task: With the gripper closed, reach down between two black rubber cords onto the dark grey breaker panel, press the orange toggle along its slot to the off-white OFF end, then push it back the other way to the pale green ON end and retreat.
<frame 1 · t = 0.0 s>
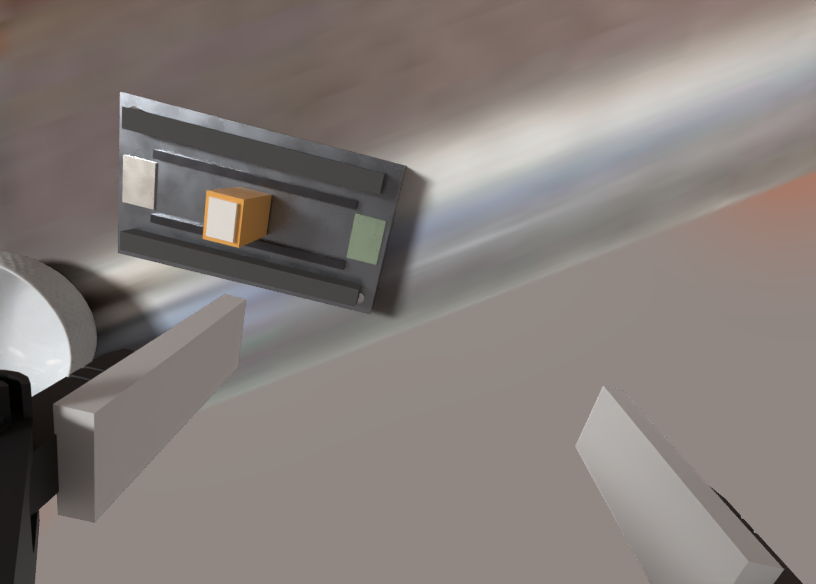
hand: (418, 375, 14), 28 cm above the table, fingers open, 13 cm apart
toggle: (238, 215, 34), point 6 cm above the table, slide at 7.0 cm
cereal bowl: (51, 312, 45), on the table
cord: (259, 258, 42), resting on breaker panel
breaker panel: (266, 208, 40), on the table
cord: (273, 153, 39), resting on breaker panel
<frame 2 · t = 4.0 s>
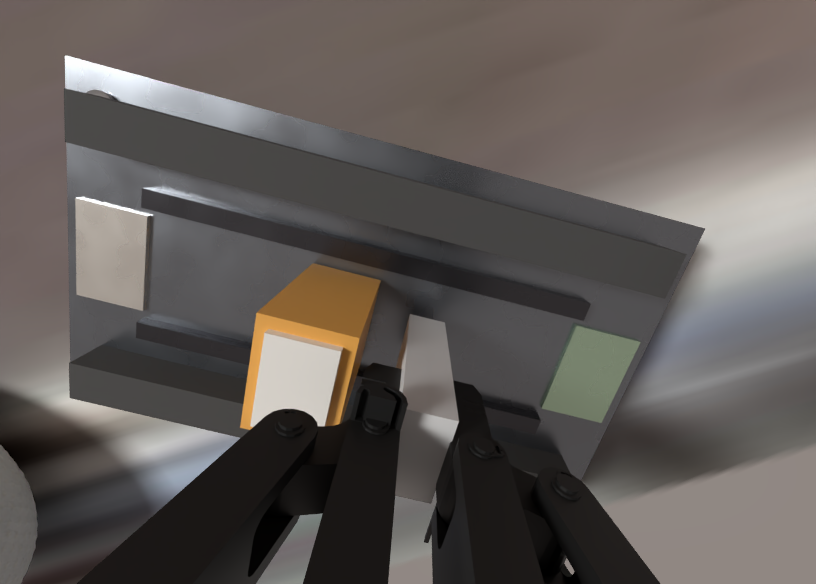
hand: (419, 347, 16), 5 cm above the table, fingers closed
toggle: (320, 344, 14), point 6 cm above the table, slide at 6.1 cm, touching gripper
breaker panel: (366, 295, 21), on the table
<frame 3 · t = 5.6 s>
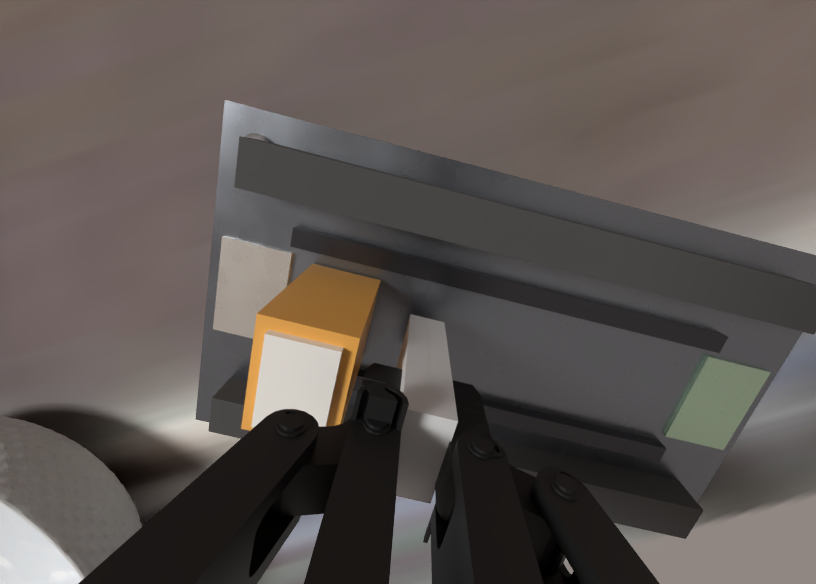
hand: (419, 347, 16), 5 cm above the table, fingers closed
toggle: (321, 344, 14), point 6 cm above the table, slide at 0.0 cm, touching gripper
cereal bowl: (59, 485, 26), on the table
breaker panel: (479, 323, 21), on the table
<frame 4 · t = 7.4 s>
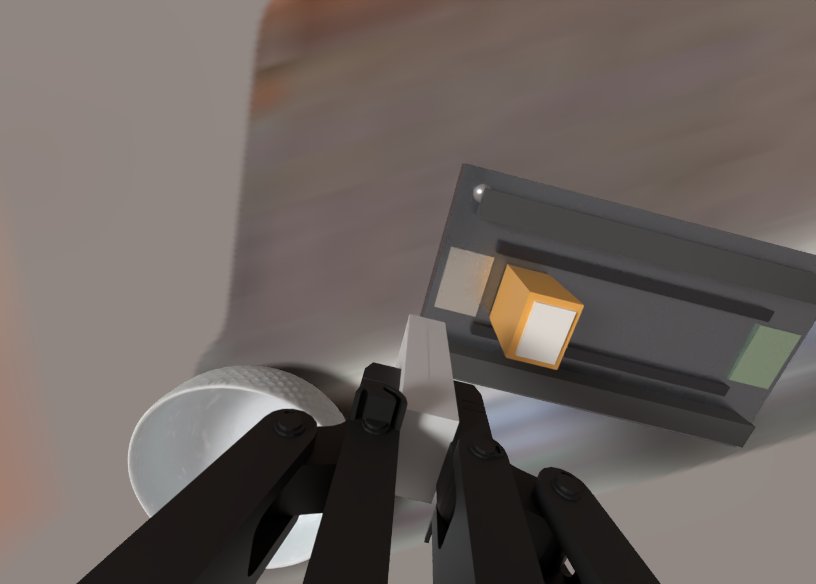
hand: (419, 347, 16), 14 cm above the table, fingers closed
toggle: (530, 313, 24), point 6 cm above the table, slide at -0.1 cm
cereal bowl: (275, 423, 35), on the table
breaker panel: (597, 305, 30), on the table
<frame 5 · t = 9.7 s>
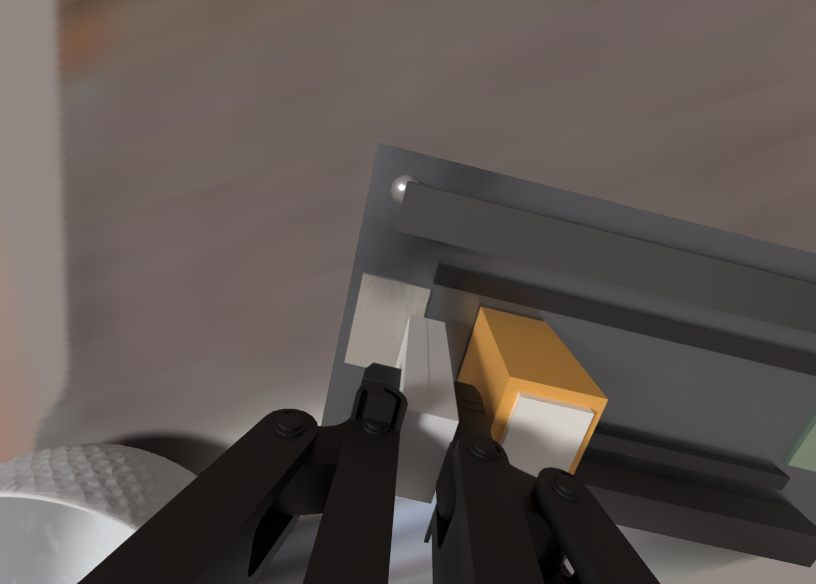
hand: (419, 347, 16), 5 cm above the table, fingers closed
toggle: (515, 392, 15), point 6 cm above the table, slide at 1.3 cm, touching gripper
cereal bowl: (155, 508, 26), on the table
breaker panel: (590, 351, 21), on the table
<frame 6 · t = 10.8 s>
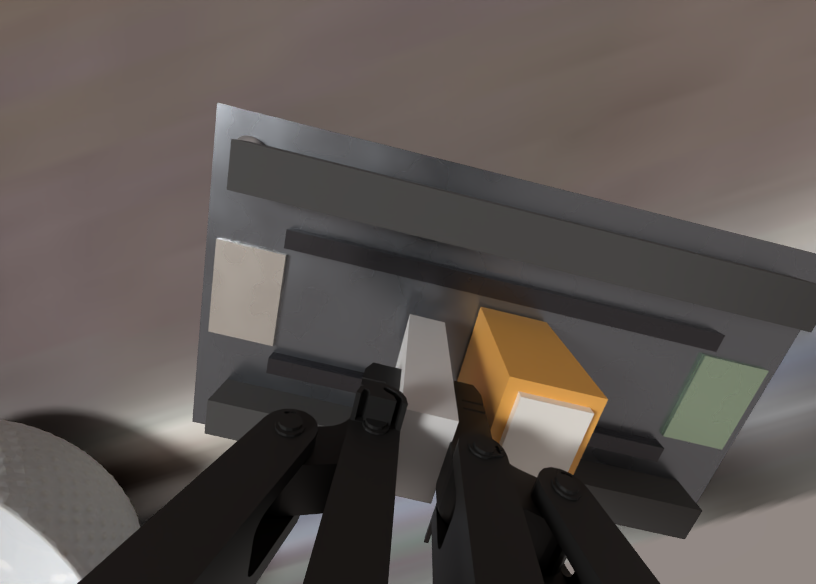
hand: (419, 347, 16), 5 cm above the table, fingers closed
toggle: (515, 392, 15), point 6 cm above the table, slide at 7.7 cm, touching gripper
cereal bowl: (59, 488, 26), on the table
breaker panel: (476, 324, 21), on the table
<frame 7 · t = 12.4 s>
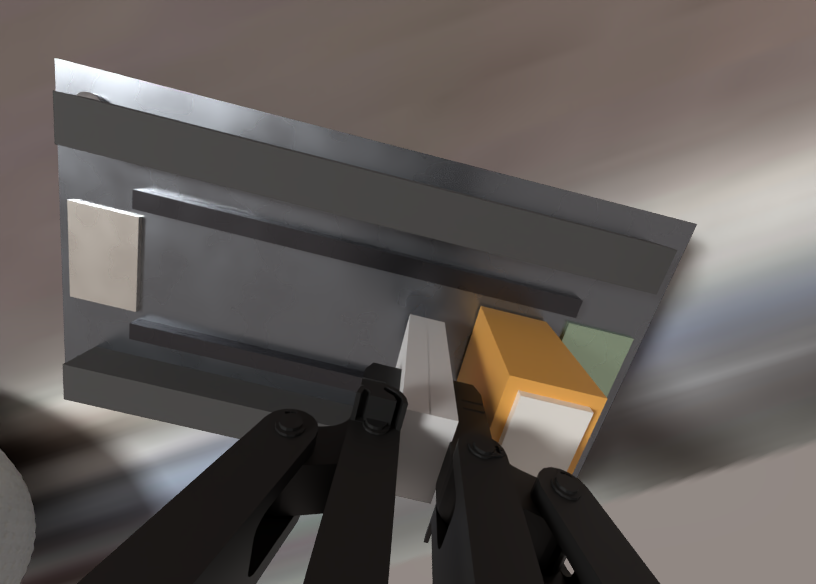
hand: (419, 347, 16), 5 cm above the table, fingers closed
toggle: (515, 391, 15), point 6 cm above the table, slide at 14.0 cm, touching gripper
breaker panel: (359, 295, 21), on the table
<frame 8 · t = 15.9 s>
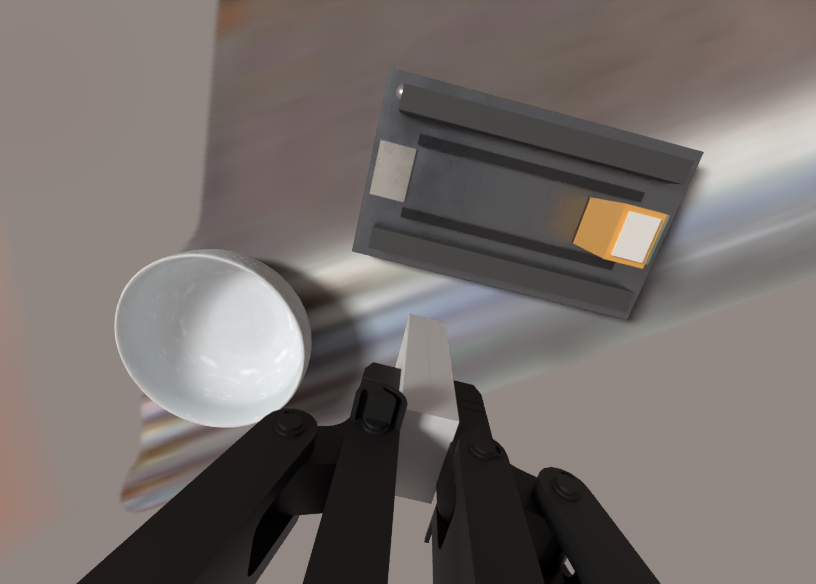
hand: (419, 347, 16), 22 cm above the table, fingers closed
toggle: (615, 230, 30), point 6 cm above the table, slide at 14.0 cm
cereal bowl: (244, 317, 41), on the table
breaker panel: (510, 201, 36), on the table
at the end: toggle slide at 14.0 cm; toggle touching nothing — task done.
